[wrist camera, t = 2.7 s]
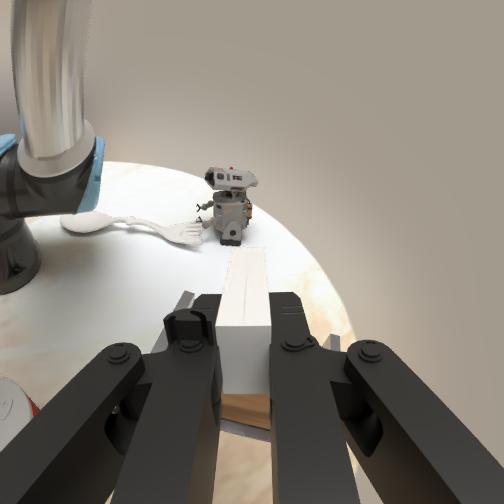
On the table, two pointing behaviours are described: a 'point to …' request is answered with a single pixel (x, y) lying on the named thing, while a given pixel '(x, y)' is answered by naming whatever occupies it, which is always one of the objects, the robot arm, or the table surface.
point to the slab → (247, 408)
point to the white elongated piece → (98, 220)
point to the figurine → (229, 202)
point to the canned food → (13, 410)
